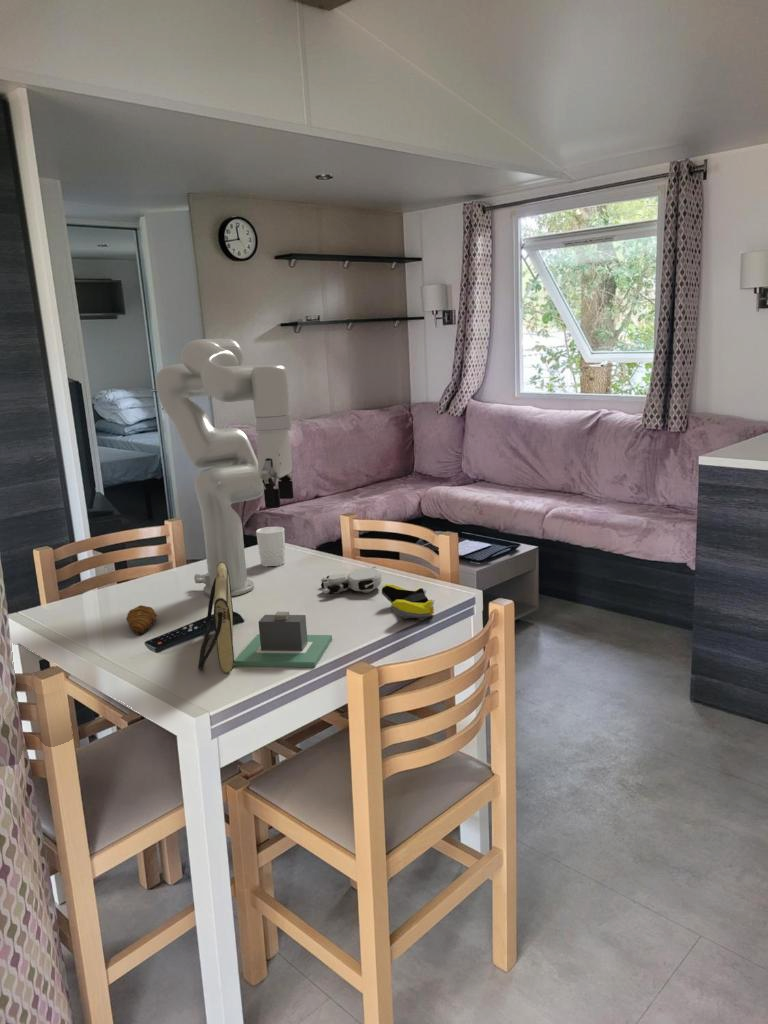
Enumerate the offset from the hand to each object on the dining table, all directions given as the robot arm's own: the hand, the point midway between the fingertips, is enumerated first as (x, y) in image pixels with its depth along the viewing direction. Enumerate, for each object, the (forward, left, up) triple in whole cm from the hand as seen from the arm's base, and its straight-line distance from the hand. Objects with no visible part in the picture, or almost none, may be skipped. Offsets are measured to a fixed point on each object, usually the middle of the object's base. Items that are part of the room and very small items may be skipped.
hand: (279, 502), depth 167 cm
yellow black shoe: (+27, +4, -27) cm, 38 cm away
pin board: (+5, -20, -26) cm, 33 cm away
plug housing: (+5, -20, -25) cm, 32 cm away
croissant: (-33, -6, -27) cm, 43 cm away
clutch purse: (-9, -19, -27) cm, 34 cm away
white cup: (-18, +44, -26) cm, 54 cm away
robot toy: (+10, +20, -27) cm, 35 cm away
